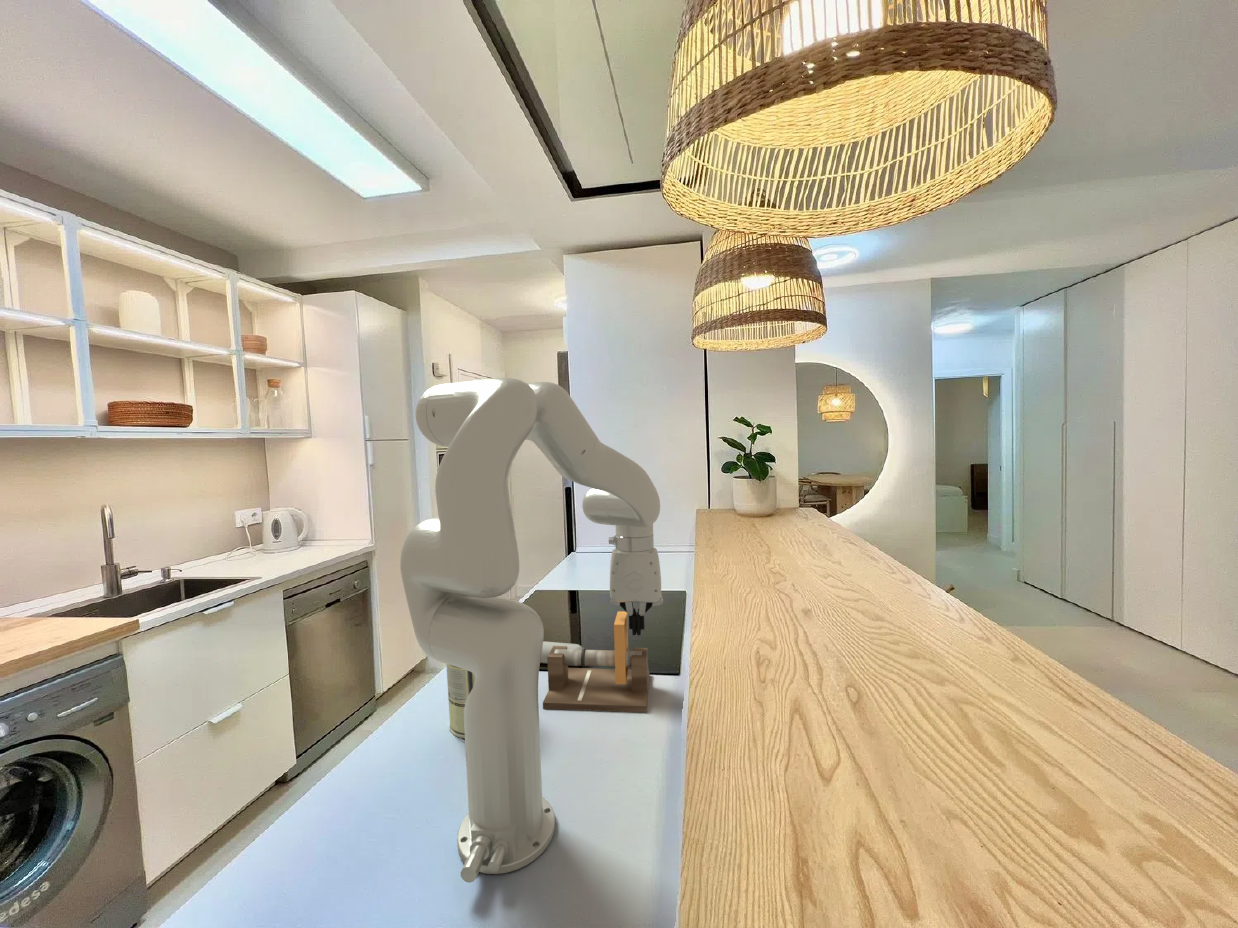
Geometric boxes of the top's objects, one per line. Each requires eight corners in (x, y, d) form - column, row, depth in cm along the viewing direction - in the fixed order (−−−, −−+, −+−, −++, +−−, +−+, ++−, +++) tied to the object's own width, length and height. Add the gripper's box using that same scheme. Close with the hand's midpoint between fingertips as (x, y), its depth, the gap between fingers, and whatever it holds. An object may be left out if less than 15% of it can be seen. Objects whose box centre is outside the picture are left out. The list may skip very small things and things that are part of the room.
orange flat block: (625, 684, 95) (624, 624, 94) (615, 683, 95) (613, 624, 94) (628, 666, 102) (627, 611, 101) (619, 666, 102) (617, 611, 101)
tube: (588, 642, 114) (491, 634, 120) (581, 644, 109) (481, 636, 115) (586, 666, 113) (489, 657, 118) (580, 670, 108) (478, 660, 113)
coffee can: (475, 701, 97) (472, 633, 96) (517, 713, 92) (514, 641, 91) (436, 731, 87) (432, 655, 86) (481, 745, 83) (477, 665, 82)
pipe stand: (646, 712, 91) (645, 668, 91) (542, 708, 93) (541, 665, 93) (649, 675, 105) (648, 636, 105) (559, 672, 107) (558, 635, 107)
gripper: (594, 547, 94) (597, 639, 95) (672, 547, 92) (674, 641, 93) (600, 539, 101) (603, 624, 102) (672, 538, 99) (674, 626, 100)
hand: (637, 632), depth 98 cm, fingers closed
